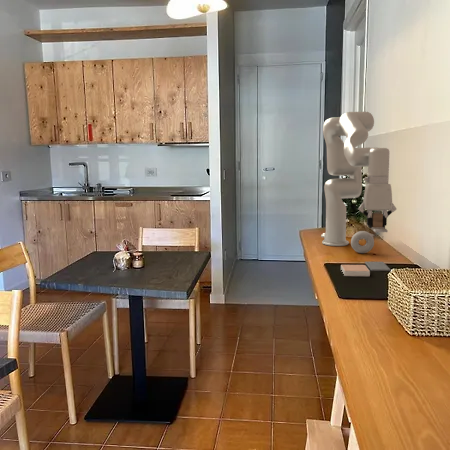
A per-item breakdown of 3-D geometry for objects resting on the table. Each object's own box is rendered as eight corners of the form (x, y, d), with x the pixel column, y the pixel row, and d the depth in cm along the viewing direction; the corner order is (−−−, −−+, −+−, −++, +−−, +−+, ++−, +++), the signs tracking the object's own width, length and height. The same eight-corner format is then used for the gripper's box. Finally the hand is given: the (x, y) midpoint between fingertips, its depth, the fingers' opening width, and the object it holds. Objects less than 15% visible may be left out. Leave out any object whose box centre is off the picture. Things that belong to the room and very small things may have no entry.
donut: (350, 253, 198) (351, 231, 197) (350, 252, 202) (350, 230, 200) (374, 254, 197) (375, 231, 195) (373, 252, 200) (374, 230, 198)
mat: (364, 263, 182) (364, 261, 182) (382, 263, 181) (382, 261, 181) (371, 270, 170) (371, 269, 170) (390, 271, 169) (390, 269, 169)
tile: (340, 264, 173) (344, 270, 164) (365, 264, 172) (369, 271, 163) (340, 270, 173) (344, 276, 164) (364, 270, 172) (369, 277, 163)
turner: (369, 227, 178) (370, 212, 177) (381, 227, 178) (381, 212, 177) (375, 232, 168) (375, 216, 167) (387, 232, 168) (388, 216, 167)
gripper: (357, 181, 170) (356, 229, 173) (403, 180, 168) (401, 229, 171) (353, 180, 178) (352, 226, 180) (398, 179, 176) (396, 225, 179)
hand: (376, 227), depth 176 cm, fingers closed on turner, 4 cm apart
